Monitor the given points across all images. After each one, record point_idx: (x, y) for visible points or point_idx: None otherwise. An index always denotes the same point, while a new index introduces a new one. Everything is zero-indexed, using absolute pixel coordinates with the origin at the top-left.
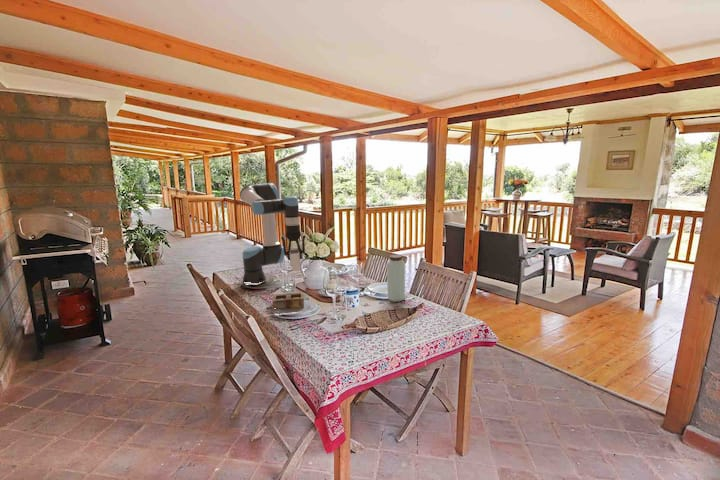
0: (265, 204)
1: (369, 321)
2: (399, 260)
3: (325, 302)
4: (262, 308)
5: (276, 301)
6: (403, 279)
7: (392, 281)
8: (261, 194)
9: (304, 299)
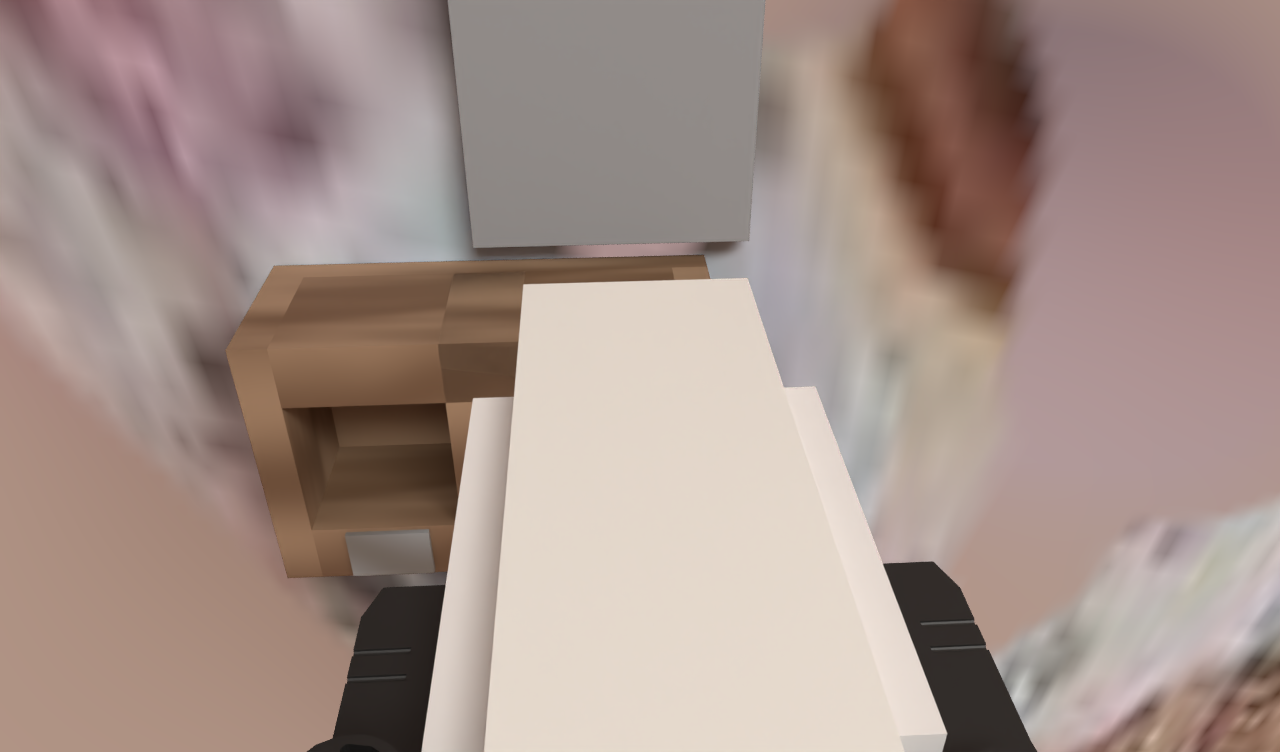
0: None
1: (1226, 747)
2: None
3: (994, 314)
4: (127, 355)
5: (343, 571)
6: None
7: None
8: None
9: (717, 227)
